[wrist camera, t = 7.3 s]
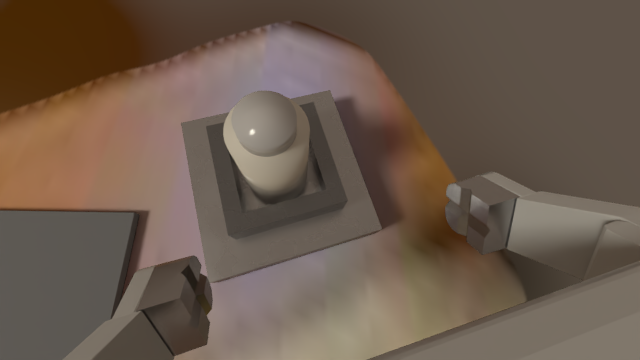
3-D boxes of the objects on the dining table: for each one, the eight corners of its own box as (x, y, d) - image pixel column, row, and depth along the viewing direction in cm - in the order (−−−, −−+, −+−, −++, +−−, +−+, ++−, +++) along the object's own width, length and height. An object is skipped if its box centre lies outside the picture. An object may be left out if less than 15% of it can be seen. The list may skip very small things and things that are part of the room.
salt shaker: (306, 203, 18) (309, 161, 11) (244, 202, 18) (211, 159, 11) (307, 147, 19) (311, 81, 13) (249, 146, 19) (222, 77, 13)
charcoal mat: (96, 408, 15) (89, 412, 15) (-118, 413, 15) (-135, 418, 14) (139, 214, 19) (134, 212, 19) (-32, 211, 18) (-43, 209, 18)
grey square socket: (374, 233, 20) (391, 223, 16) (218, 282, 18) (196, 284, 14) (327, 105, 23) (332, 71, 19) (191, 136, 21) (168, 106, 17)
